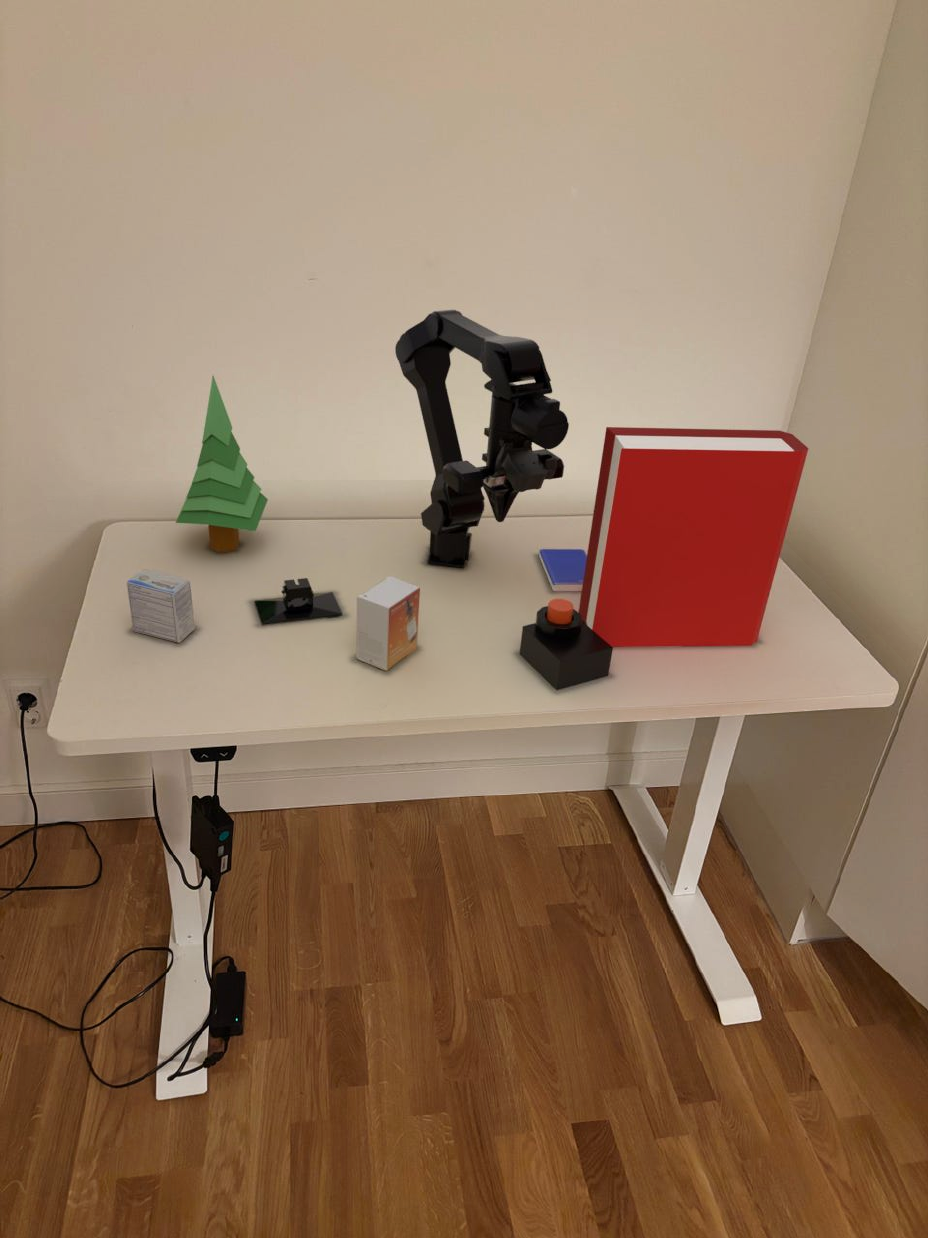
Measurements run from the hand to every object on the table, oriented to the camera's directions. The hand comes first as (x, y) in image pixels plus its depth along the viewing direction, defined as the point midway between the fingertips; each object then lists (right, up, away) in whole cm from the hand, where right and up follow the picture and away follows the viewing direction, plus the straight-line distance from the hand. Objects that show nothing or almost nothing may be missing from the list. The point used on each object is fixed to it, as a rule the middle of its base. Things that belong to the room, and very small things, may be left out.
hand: (499, 520), depth 152 cm
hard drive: (+12, -8, +14) cm, 20 cm away
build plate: (-31, -14, -2) cm, 34 cm away
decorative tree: (-47, -3, +14) cm, 49 cm away
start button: (+8, -15, -12) cm, 21 cm away
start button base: (+9, -22, -10) cm, 26 cm away
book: (+26, -18, 0) cm, 32 cm away
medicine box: (-50, -17, -10) cm, 54 cm away
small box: (-17, -21, -11) cm, 29 cm away
